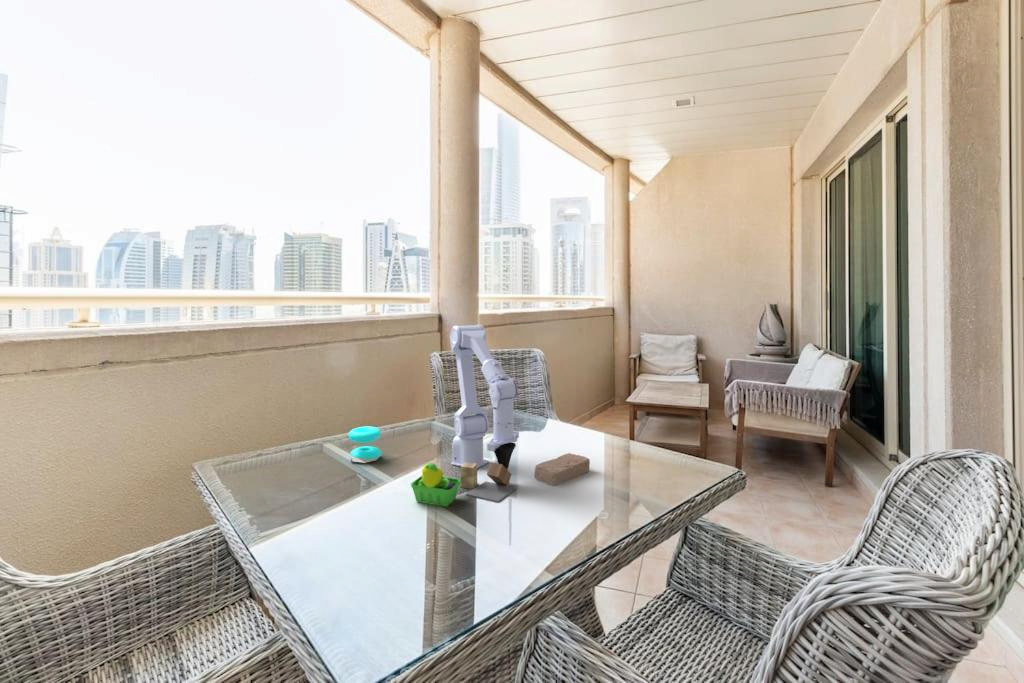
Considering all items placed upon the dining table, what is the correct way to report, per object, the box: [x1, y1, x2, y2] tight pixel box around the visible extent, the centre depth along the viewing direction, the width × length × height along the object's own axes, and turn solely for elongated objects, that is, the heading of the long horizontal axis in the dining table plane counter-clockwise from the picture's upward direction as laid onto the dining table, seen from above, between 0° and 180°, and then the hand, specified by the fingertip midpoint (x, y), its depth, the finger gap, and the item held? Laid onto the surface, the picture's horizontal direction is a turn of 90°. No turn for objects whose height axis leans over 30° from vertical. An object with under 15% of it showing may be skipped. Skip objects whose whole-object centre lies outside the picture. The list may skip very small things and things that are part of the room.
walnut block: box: [486, 462, 512, 486], centre depth 139 cm, size 4×4×7 cm
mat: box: [465, 481, 517, 504], centre depth 136 cm, size 10×10×1 cm
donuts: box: [348, 425, 382, 459], centre depth 162 cm, size 10×10×10 cm
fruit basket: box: [410, 462, 461, 507], centre depth 129 cm, size 11×9×11 cm
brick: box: [534, 452, 591, 487], centre depth 148 cm, size 17×8×5 cm, turn 133°
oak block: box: [460, 462, 478, 490], centre depth 140 cm, size 4×4×6 cm
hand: (503, 468), depth 141 cm, fingers closed
